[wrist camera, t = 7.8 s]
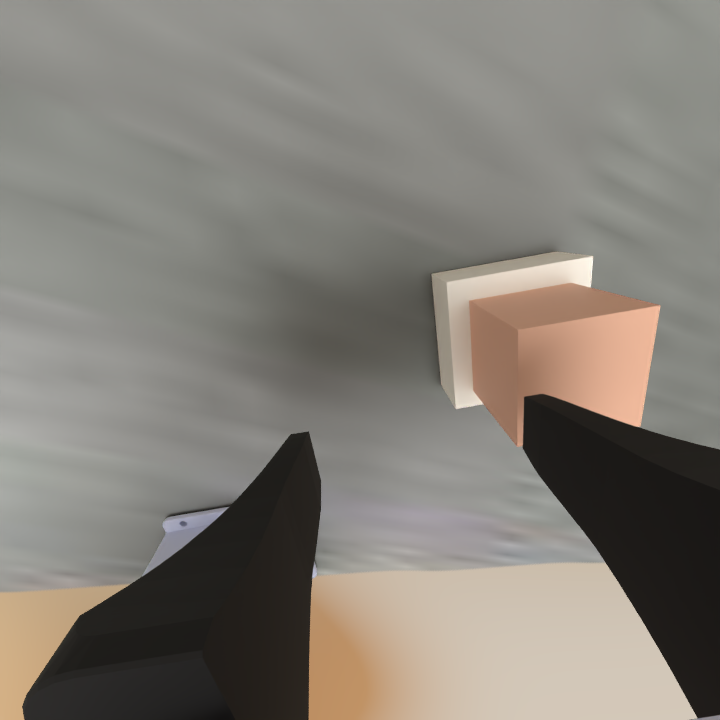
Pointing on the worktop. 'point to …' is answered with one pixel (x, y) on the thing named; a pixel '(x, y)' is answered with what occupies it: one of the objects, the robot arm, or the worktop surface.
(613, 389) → the terracotta cube
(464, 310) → the cream plinth
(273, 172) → the worktop surface
